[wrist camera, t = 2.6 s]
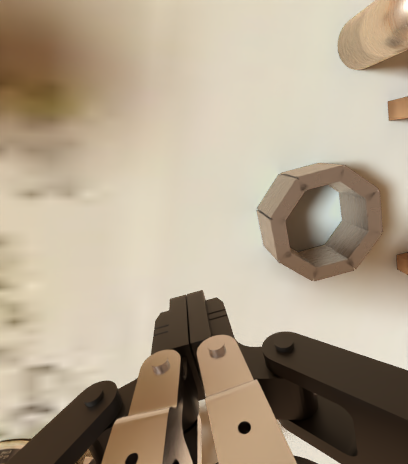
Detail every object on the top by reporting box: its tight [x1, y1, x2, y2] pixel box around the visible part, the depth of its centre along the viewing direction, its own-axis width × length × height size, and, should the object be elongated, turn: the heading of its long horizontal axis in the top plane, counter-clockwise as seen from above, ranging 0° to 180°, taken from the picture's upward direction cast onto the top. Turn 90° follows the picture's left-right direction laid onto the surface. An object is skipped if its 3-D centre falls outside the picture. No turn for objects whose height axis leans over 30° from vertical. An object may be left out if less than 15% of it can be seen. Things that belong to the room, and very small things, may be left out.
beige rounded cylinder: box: [338, 0, 408, 70], centre depth 15 cm, size 3×3×6 cm
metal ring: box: [257, 163, 383, 281], centre depth 19 cm, size 7×7×3 cm
